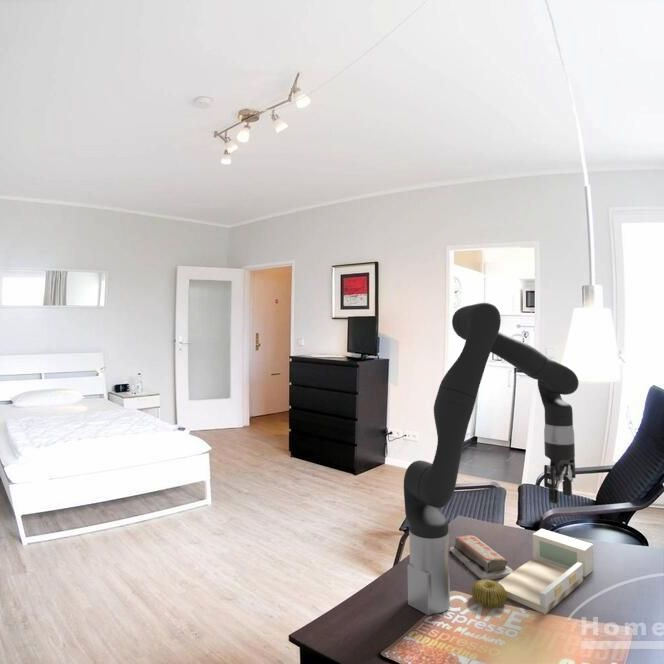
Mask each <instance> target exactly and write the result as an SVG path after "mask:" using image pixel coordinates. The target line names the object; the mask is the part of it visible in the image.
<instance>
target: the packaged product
mask: <svg viewBox="0 0 664 664" xmlns="http://www.w3.org/2000/svg"><path fill="white" fill-rule="evenodd" d="M450 551H451V552H452V553H453V554H452V555H454V556H455V557H456V559H458V560H459V561H460V562H461V563H462V562H463V563H464V564H465V565H466V566H465V565H464V564H463V563H462V564H463V565H464V566H465V567H466V568H468V569H469V570H470V571H471V572H472V573H473V572H474V573H473V574H475V575H476V576H477V577H478V578H480V580H483V579H488V580H496V579H497V580H498V579H503V578H505V577H506V576H508V575H509V574H510V573H512V572H513V571H514V570H513V569H512V568H511V567H509V566H508V565H507V563H508V561H507V559H505V558H504V556H502V555H500V554H499V553H498V552H497V551H495V550H494V549H492V548H491V547H490V546H489V545H487V544H486V543H484V542H483V541H482V540H481V539H479V538H478V537H477V536H475V535H472V534H468V535H467V534H466V535H459V536H456V537H455V539H454V546H449V552H450ZM451 552H450V553H451Z"/></svg>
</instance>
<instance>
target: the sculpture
mask: <svg viewBox="0 0 664 664" xmlns="http://www.w3.org/2000/svg"><path fill="white" fill-rule="evenodd" d="M498 582H499V581H495V580H494V579H492V580H488V579H483V580H482V579H479V580H476V581H475V582H474V583H473V584H472V587H471V595H472V597H473V598H474V601H476V602H477V604H479V605H481V606H483V607H487V608H494V609H495V608H499V607H502V606H503V605H505V603H506V601H507V599H508V598H507V594H506V591H505V589H504V587H503V586H502V585H501V584H499V583H498Z"/></svg>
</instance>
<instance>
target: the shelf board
mask: <svg viewBox="0 0 664 664" xmlns="http://www.w3.org/2000/svg"><path fill="white" fill-rule="evenodd" d="M566 571H567V570H566V569H564V568H561V567H558V566H555V565H552V564H550V563H547V562H544V561H541V560H538V559H536V558H533V557H532V558H531V559H530V560H527V561H526V562H525V563H523V564H522V565H521V566H519V567H518V568H516V569H515V570H513V572H512V573H510V574H509V575H508V576H506V577H503V578H501V579H500V580H499V581H497V582H498V583H499V584H501V585H502V586H503V587H504V589H505V591H506V594H507V599H509V600H512V601H514V602H517V603H519V604H522V605H524V606H526V607H528V608H530V609H533V610H535V611H537V612H538V613H542V614H543V615H547V614H548V613H549V612H550V611H551V610H552V609H553V608H555V607H556V606H557V605H558V604H559V603H560V602H561V601H563V599H565V598H566V597H567V596H568V595H570V593H572V591H573V592H574V590H575V589H576V588H577V587H579V585H581V584H582V583H583V582H584V576H582V577H581V578H579V579H578V580H577V581H576V582H575V583H574V584H572V585H571V586H570V587H569V588H568V589H567V590H565V591H564V592H563V593H562V594H561V595H560V596H558V597H557V598H556V599H555V600H554V601H553V602H551V603H550V604H549V605H548V606H547V607H546V608H545V607H543V606H540V592H541V591H542V590H543V589H545V588H546V587H547V586H548V585H550V584H551V583H552V582H553V581H555V580H556V579H557V578H558V577H560V576H561V575H562V574H563V573H565V572H566Z"/></svg>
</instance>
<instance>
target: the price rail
mask: <svg viewBox="0 0 664 664" xmlns="http://www.w3.org/2000/svg"><path fill="white" fill-rule="evenodd" d="M582 576H583V564H582V563H579V562H577V563H576V564H575V565H573V566H572V567H571V568H570V569H568V570H567V571H566V572H565V573H563V574H562V575H561V576H560V577H558V578H557V579H556V580H555V581H553V582H552V583H551V584H550V585H548V586H547V587H546V588H545V589H543V590H542V591H541V592H540V606H543V607H545V608H546V607H547V606H548V605H549V604H550V603H551V602H553V601H554V600H555V599H556V598H557V597H558V596H560V595H561V594H562V593H563V592H564V591H565V590H567V589H568V588H569V587H570V586H571V585H572V584H574V583H575V582H576V581H577V580H578V579H579V578H581V577H582ZM583 577H584V576H583Z"/></svg>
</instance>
